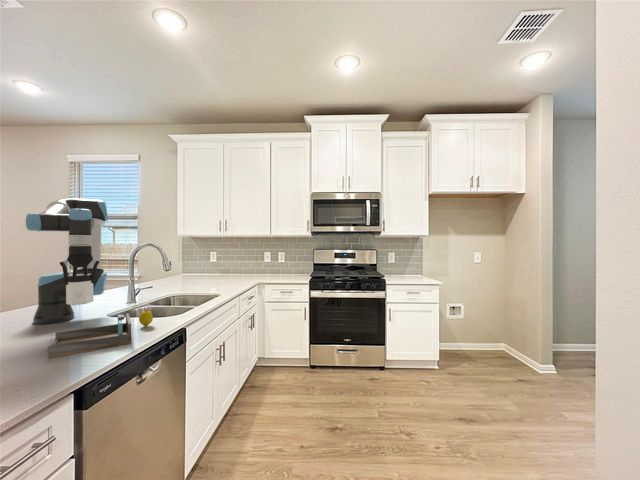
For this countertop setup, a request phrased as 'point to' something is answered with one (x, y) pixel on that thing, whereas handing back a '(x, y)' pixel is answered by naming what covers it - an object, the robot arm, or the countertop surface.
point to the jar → (79, 289)
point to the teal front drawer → (90, 339)
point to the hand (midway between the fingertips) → (80, 300)
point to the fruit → (146, 318)
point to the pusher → (120, 323)
